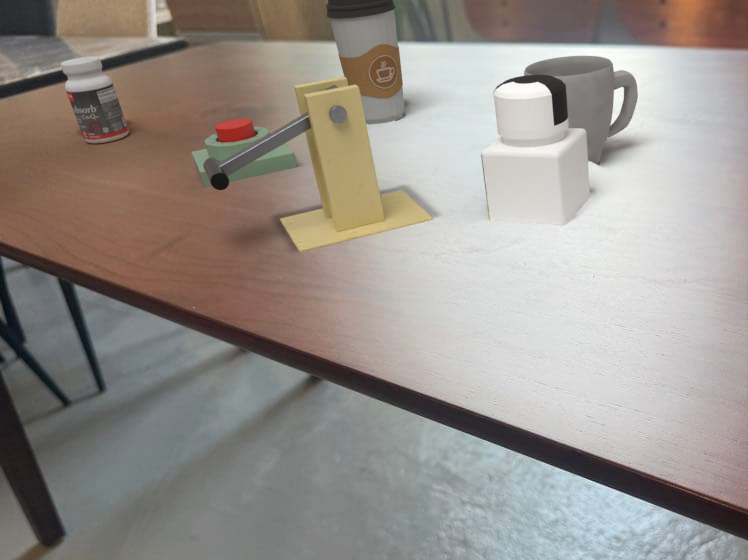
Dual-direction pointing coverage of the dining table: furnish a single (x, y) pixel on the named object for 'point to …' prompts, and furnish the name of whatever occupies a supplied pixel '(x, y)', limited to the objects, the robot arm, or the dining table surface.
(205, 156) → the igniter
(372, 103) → the coffee cup
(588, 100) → the mug
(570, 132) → the medicine bottle
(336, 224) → the lever bracket
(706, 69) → the dining table surface
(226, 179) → the lever
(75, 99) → the pill bottle
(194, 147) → the dining table surface
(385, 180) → the dining table surface
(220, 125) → the button
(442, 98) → the dining table surface
